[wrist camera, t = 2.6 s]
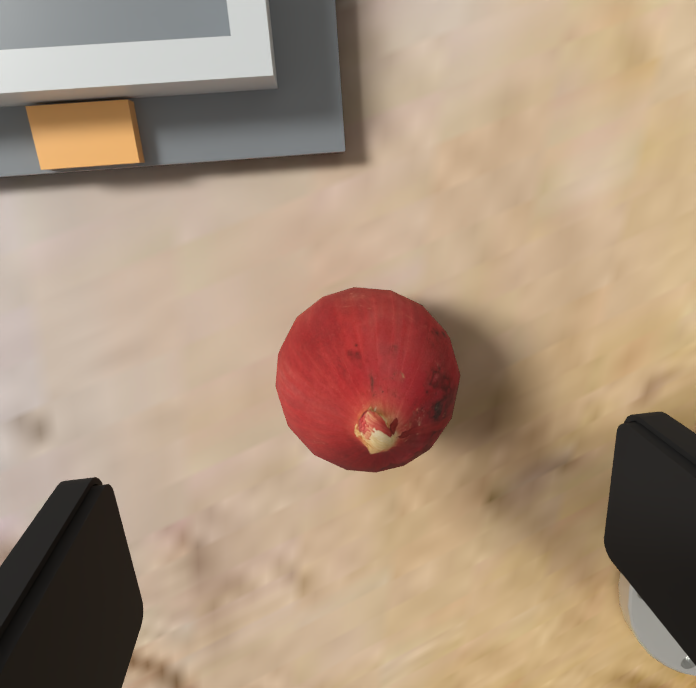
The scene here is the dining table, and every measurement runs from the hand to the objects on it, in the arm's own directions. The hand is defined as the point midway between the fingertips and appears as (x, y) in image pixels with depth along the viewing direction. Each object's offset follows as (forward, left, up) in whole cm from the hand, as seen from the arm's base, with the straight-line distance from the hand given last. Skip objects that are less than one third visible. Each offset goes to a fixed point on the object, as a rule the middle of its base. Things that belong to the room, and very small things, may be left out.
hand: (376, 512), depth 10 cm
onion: (-1, 0, -12) cm, 12 cm away
